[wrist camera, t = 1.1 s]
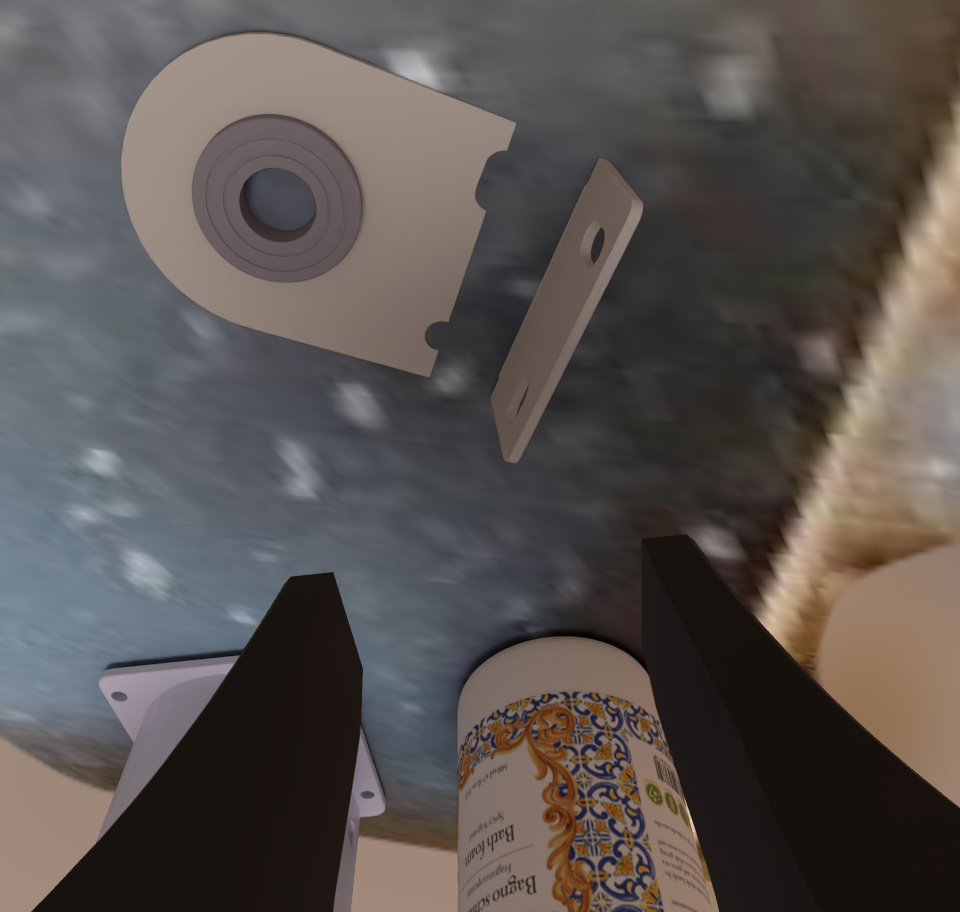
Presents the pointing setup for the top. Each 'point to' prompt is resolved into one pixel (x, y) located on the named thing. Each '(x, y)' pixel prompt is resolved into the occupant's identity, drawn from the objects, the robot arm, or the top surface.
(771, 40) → the top surface
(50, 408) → the top surface
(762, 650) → the robot arm
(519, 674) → the bath foam
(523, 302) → the top surface
